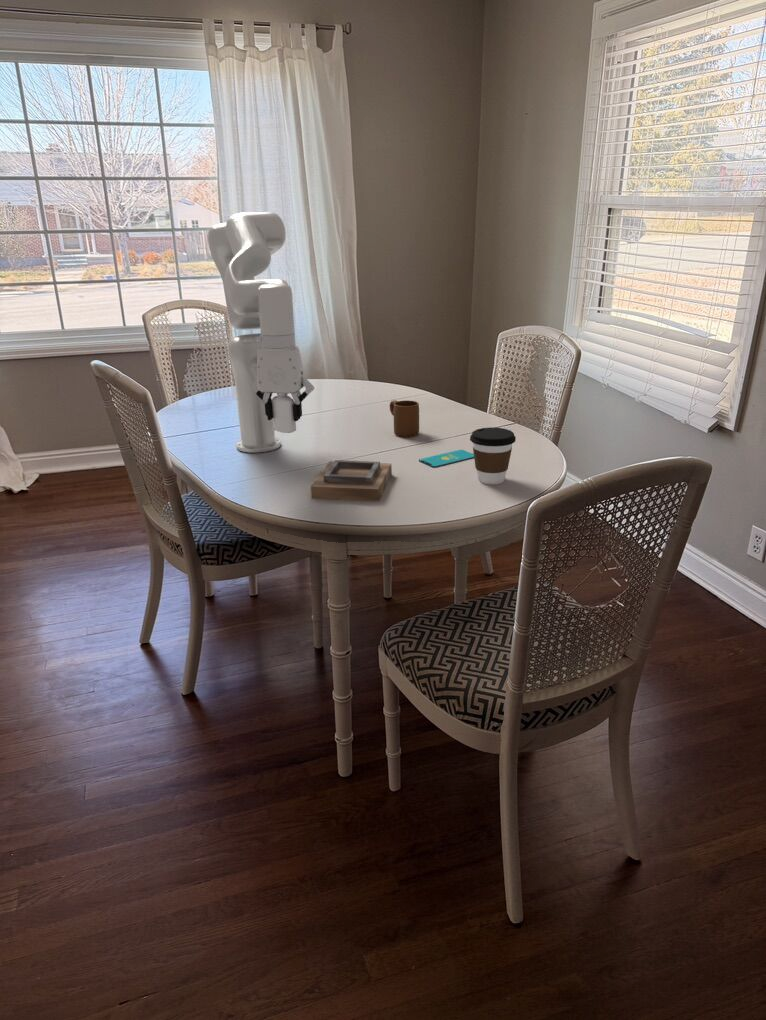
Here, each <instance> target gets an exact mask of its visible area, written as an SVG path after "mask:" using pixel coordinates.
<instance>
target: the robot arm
mask: <svg viewBox="0 0 766 1020" xmlns="http://www.w3.org/2000/svg"><path fill="white" fill-rule="evenodd" d="M285 241H286V227H285V224H284V221H283V219H282V218H281V216H280V215H279V214H278V213H276V212H273V211H258V212H257V211H255V212H254V211H252V212H239V213H235V214H233V215H231V216H229V218H228V219H227V220H226V222H221V223H217V224H215V225H212V226H211V227H210V228H209V229H208V233H207V242H208V248H209V252H210V255H211V257H212V261H213V262H214V265H215V267H216V268H217V270H218V272H219V275H220V279H221V281H222V286H223V291H224V292H223V293H224V298H225V299H224V300H225V304H226V310H227V316H228V320H229V323H230V325H231V327H232V328H233V329H235V330H238V331H248V330H249V331H250V330H251V331H252V330H260V332H259V333H247V334H241V335H237V336H235V337H233V338H231V340H230V341H229V342H228V348H227V350H228V356H229V359H230V363H231V368H232V372H233V377H234V385H235V394H236V402H237V410H238V411H237V412H238V421H239V431H240V440H239V441H237V443H236V444H235V446H236V449H237V450H238V451H241V452H244V453H249V454H250V453H251V454H252V453H253V454H254V453H256V454H257V453H266V452H270V451H274V450H276V449H279V448H280V446H281V445H282V442H281V440H280V438H277V437H276V435H275V430H274V425H273V412H272V398H273V394H277V393H288V394H291V398H292V399H293V400H294V405H293V416H294V421H296V422H298V421H299V420H300V419H301V418H302V417H303V404H302V402H303V401H304V400H305V399H306V398H307V397H308V396H309V395H310V394H311V393H312V392H313V391H315V386H314V385H313V384H312V383H311V382H310V381H309V380H308V379H307V378H306V376H305V373H304V367H303V366H304V365H303V360H302V356H301V353H300V348H299V346H297V345H296V334H295V333H296V332H295V331H296V330H295V320H294V319H295V318H294V317H295V316H294V315H295V314H294V302H293V291H292V287H291V286H290V285H289V283H288V282H287V281H286V280H284V279H282V278H267V279H263V278H262V279H255V277H257V276H259V275H261V274H262V273H264V272H265V271H266V270H267V269H268V268H269V266H270V264H271V261H272V255H274V254H275V253H277V252H278V251H280V250H281V249H282V247H283V246H284V244H285ZM303 388H305V390H304V391H303V392H302V393H301V389H303Z"/></svg>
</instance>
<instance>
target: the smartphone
mask: <svg viewBox="0 0 766 1020" xmlns="http://www.w3.org/2000/svg"><path fill="white" fill-rule="evenodd" d="M471 459H474V453H471V452H469V451H467V450H465V449H457V450H453V451H449V452H448V451H447V452H444V453H440V454H435V455H432V456H427V457H423V458H419V459H418V462H419V463H421V464H423V465H425V466H428V467H430V468H434V469H435V468H440V467H443V466H448V465H452V464H456V463H459V462H464V461H468V460H471Z"/></svg>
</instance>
